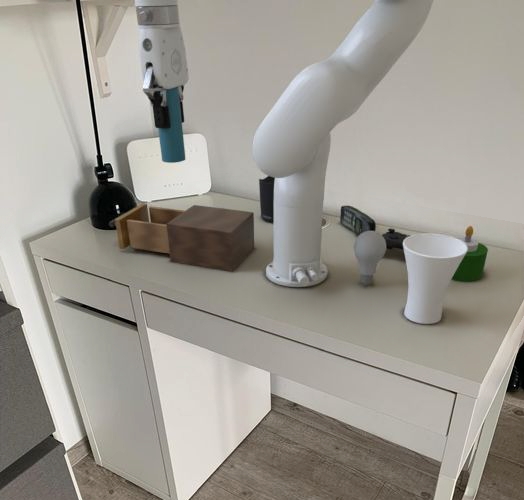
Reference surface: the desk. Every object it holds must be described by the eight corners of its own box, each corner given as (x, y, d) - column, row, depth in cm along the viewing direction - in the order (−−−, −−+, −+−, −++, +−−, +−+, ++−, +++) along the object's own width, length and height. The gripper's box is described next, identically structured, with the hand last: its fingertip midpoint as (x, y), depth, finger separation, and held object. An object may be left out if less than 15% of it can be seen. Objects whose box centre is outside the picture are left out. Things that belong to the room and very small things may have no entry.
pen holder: (256, 212, 144) (256, 174, 138) (291, 210, 145) (292, 172, 139) (263, 225, 136) (262, 185, 130) (299, 222, 137) (301, 183, 132)
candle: (454, 283, 108) (463, 236, 103) (432, 266, 115) (440, 221, 110) (490, 278, 110) (502, 231, 105) (467, 262, 117) (476, 216, 111)
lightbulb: (364, 274, 112) (369, 223, 106) (387, 285, 108) (394, 232, 102) (344, 283, 109) (348, 231, 103) (367, 294, 105) (373, 240, 99)
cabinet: (170, 261, 119) (166, 223, 114) (196, 240, 128) (193, 204, 124) (232, 271, 114) (230, 232, 109) (254, 249, 124) (253, 212, 119)
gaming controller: (360, 239, 116) (381, 217, 122) (360, 263, 120) (381, 241, 126) (423, 254, 109) (443, 231, 115) (421, 279, 113) (440, 255, 119)
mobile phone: (338, 204, 134) (372, 223, 122) (349, 203, 135) (383, 221, 123) (337, 224, 137) (370, 244, 125) (348, 222, 138) (381, 242, 126)
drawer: (104, 246, 124) (99, 217, 120) (132, 228, 133) (128, 201, 129) (172, 257, 118) (169, 227, 115) (196, 238, 127) (194, 209, 123)
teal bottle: (186, 161, 111) (178, 73, 102) (163, 163, 110) (152, 75, 101) (184, 156, 115) (175, 71, 106) (161, 158, 114) (150, 72, 105)
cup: (393, 327, 95) (403, 255, 87) (392, 299, 103) (401, 231, 96) (455, 333, 93) (472, 259, 86) (449, 303, 102) (464, 234, 94)
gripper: (152, 20, 91) (165, 135, 101) (197, 16, 104) (205, 118, 114) (113, 21, 93) (130, 133, 103) (163, 16, 107) (174, 116, 117)
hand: (170, 124), depth 109 cm, fingers closed on teal bottle, 4 cm apart
